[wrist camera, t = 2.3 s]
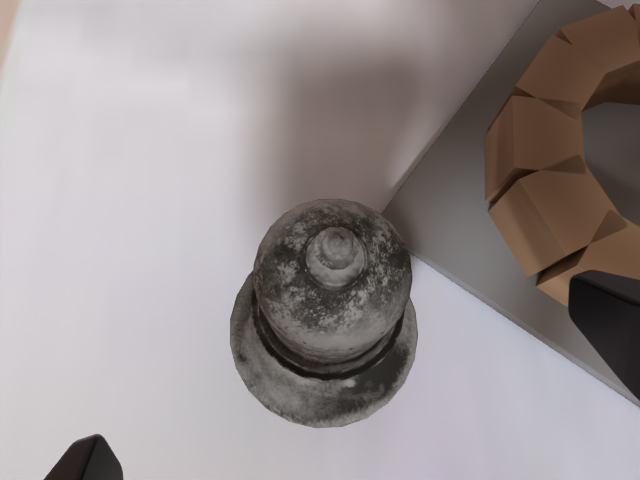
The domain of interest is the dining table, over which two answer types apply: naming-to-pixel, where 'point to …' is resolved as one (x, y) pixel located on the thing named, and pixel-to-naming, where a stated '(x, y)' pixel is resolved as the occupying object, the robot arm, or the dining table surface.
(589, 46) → the walnut collar
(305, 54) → the dining table surface
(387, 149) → the dining table surface
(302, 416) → the salt shaker
